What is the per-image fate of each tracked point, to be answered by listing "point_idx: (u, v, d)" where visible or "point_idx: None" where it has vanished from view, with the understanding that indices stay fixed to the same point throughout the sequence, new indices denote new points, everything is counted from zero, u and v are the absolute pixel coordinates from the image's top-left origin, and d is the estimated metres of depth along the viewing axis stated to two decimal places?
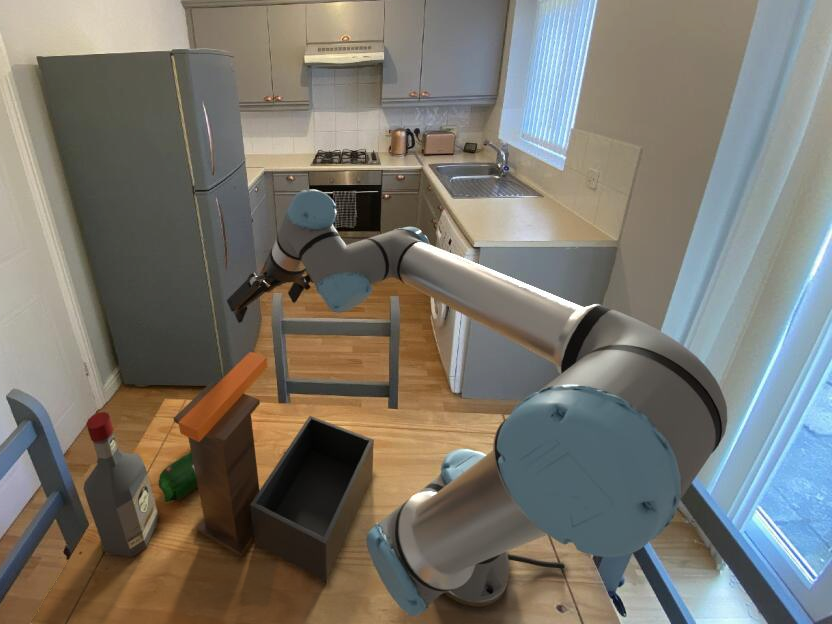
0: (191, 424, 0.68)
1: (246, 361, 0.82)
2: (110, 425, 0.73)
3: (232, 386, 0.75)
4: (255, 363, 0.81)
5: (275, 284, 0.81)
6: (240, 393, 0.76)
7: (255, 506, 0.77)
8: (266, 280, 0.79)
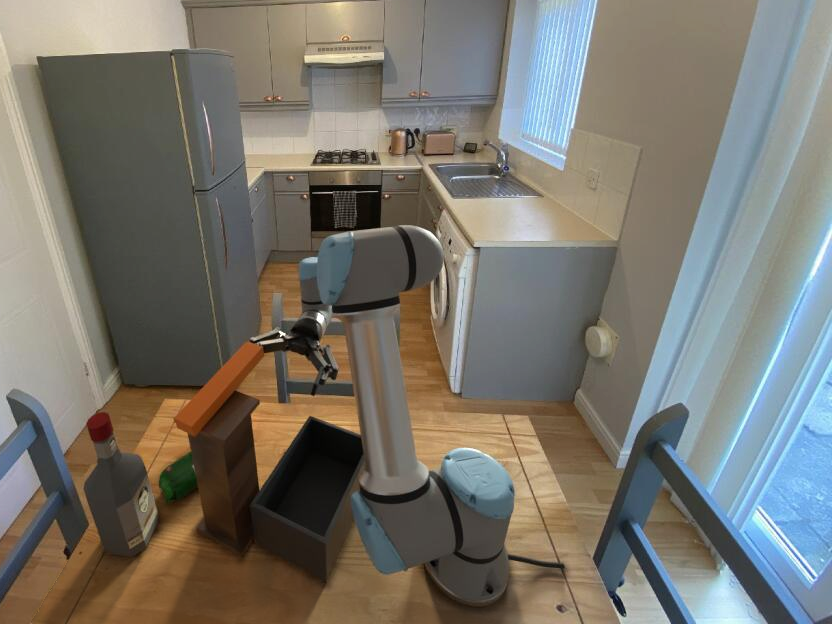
0: (186, 419, 0.69)
1: (242, 351, 0.81)
2: (110, 425, 0.73)
3: (227, 379, 0.76)
4: (251, 354, 0.81)
5: None
6: (236, 385, 0.77)
7: (255, 506, 0.77)
8: (286, 333, 0.98)
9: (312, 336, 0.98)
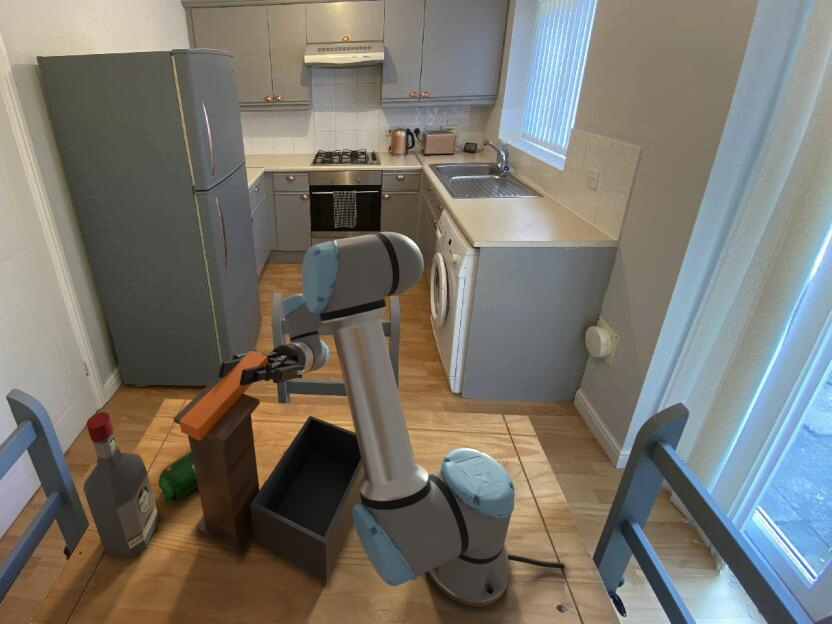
0: (192, 422, 0.68)
1: (247, 360, 0.82)
2: (110, 425, 0.73)
3: (232, 385, 0.75)
4: (256, 363, 0.81)
5: None
6: (241, 392, 0.76)
7: (255, 506, 0.77)
8: None
9: (291, 358, 0.93)
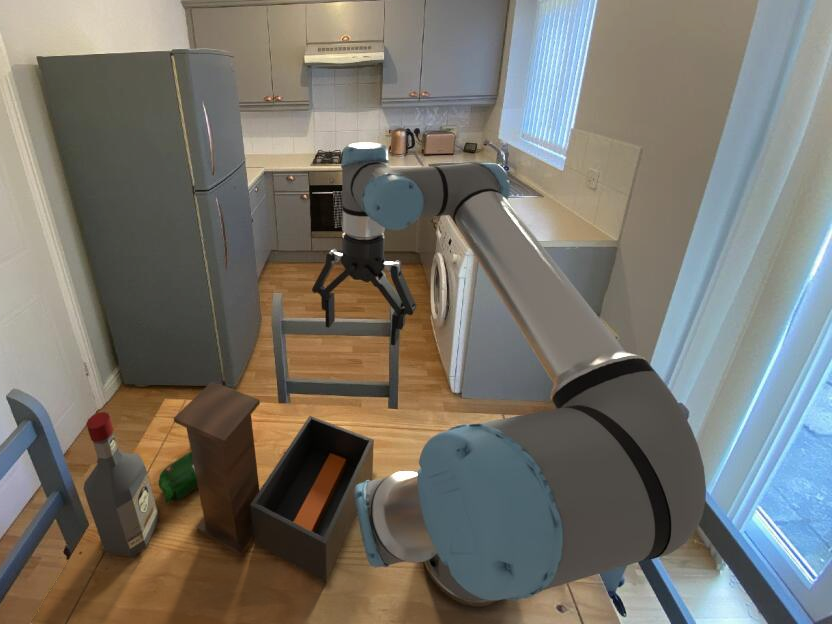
0: None
1: (329, 464, 0.93)
2: (110, 425, 0.73)
3: (323, 494, 0.87)
4: (338, 467, 0.92)
5: (347, 267, 0.76)
6: (330, 498, 0.88)
7: (255, 506, 0.77)
8: (340, 258, 0.77)
9: None
